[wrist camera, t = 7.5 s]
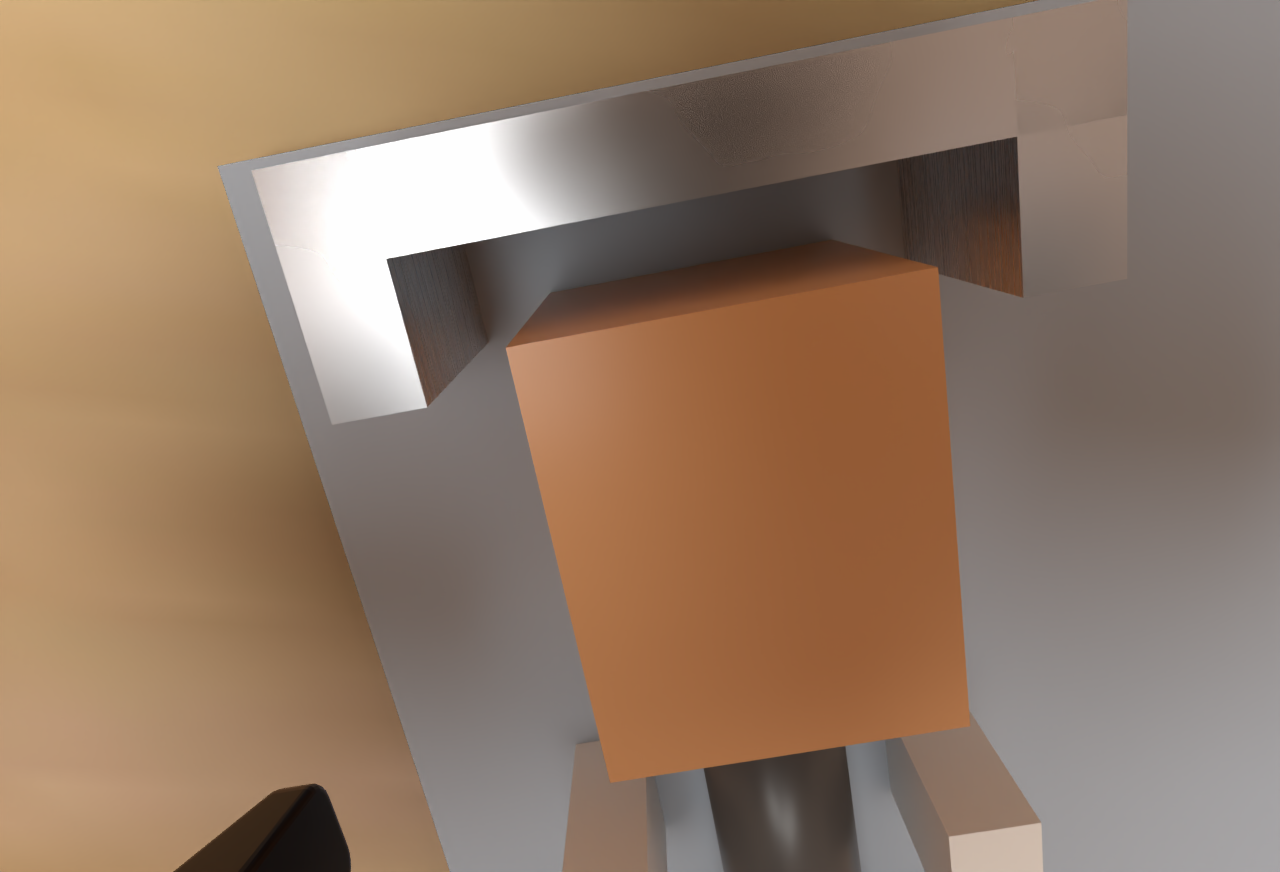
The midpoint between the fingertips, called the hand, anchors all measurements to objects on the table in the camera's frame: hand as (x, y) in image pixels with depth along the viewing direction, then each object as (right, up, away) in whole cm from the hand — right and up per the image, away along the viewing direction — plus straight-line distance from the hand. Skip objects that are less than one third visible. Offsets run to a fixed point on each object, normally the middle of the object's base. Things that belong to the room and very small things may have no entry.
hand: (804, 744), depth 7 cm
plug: (+1, -2, +6) cm, 6 cm away
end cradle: (-1, +6, +4) cm, 7 cm away
